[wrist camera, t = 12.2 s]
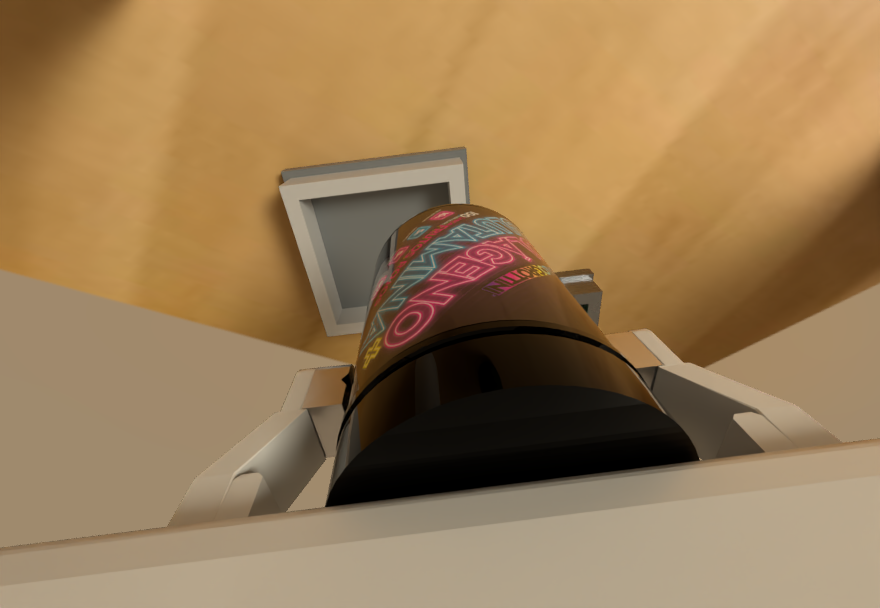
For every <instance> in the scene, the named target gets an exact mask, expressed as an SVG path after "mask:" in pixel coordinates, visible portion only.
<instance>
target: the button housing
mask: <svg viewBox="0 0 880 608" xmlns="http://www.w3.org/2000/svg"><path fill="white" fill-rule="evenodd" d="M555 274H556V275H557V277H558V278H559V279H560V280H561V282H562V283H563V284H564V285H565V287H566V288H567V289H568V290H569V292H570V293H571V294H572V295H573V296H574V298H575V299H576V300H577V301H578V303H579V304H580V305H581V306H582V308H583V309H584V310H585V311H586V313H587V314H588V315H589V316H590V318H591V319H592V320H593V321H594V323H595V324H596V325H597V326H598V321H599V314H600V306H601V299H602V290H601V289H600V288H599V287H598V286H597V285H596V284H595V283H594V281H593V276H594V273H593V272H592V271H591V270H590V269H582V270H574V271H565V272H557V273H555Z"/></svg>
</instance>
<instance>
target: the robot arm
mask: <svg viewBox="0 0 880 608" xmlns="http://www.w3.org/2000/svg"><path fill="white" fill-rule="evenodd" d="M604 335H605V336H606V337H607V339H608V340H609V341H610V342H611V344H612V345H613V346H614V347H615V348H616V349H617V350H618V351H619V352H621V353H622V354H623V355H624V356H625V357H626V358H627V359H628V360H629V361H630V362H631V363H632V365H633V366H634V367H635V368H636V369H637V371H638V372H639V373H640V374H641V376H642V377H643V379H644V381H645V382H646V384H647V386H648V387H649V388H650V389H651V390H652V392H653V393H654V394H655V395H656V397H657V398H658V399H659V400H660V402H661V403H662V404H663V405H664V406H665V408H666V409H667V410H668V411H669V413H670V414H671V415H672V416H673V417H674V419H675V420H676V421H677V422H678V424H679V425H680V426H681V427H682V429H683V430H684V431H685V432H686V433H687V435H688V436H689V437H690V439H691V441H692V443H693V444H694V446H695V448H696V451H697V454H698V457H699V458H701V459H702V460H701V461H693V462H685V463H677V464H669V465H661V466H653V467H645V468H636V469H628V470H620V471H612V472H604V473H596V474H588V475H580V476H572V477H564V478H556V479H548V480H540V481H532V482H524V483H516V484H508V485H499V486H491V487H483V488H475V489H467V490H459V491H451V492H443V493H435V494H427V495H419V496H411V497H403V498H395V499H387V500H379V501H371V502H363V503H355V504H347V505H339V506H331V507H323V508H315V509H308V510H300V511H291V512H286V511H287V510H288V508H289V507H290V506H291V504H292V503H293V502H294V500H295V499H296V498H297V497H298V495H299V494H300V493H301V491H302V490H303V489H304V487H305V486H306V485H307V484H308V482H309V481H310V480H311V478H312V477H313V476H314V474H315V473H316V472H317V470H318V469H319V468H320V467H321V465H322V464H323V462H324V461H325V460H326V458H327V457H334V456H336V446H337V439H338V433H339V429H340V425H341V422H342V419H343V416H344V414H345V412H346V410H347V405H348V400H349V395H350V390H351V385H352V380H353V375H354V370H355V368H354V366H353V365H352V364H351V365H341V366H332V367H320V368H312V369H304V370H299V371H298V372H297V373H296V375H295V377H294V380H293V382H292V385H291V387H290V389H289V392H288V394H287V397H286V399H285V402H284V404H283V406H282V409H281V411H280V412H276V413H274V414H273V415H271V416H270V417H269V418H268V419H266V420H265V421H264V422H263V423H262V424H260V426H258V427H257V428H255V429H254V430H253V431H252V432H251V433H249V434H248V435H247V436H246V437H244V438H243V439H242V440H241V441H240V442H238V443H237V444H236V445H235V446H234V447H232V448H231V449H230V450H229V451H227V452H226V453H225V454H224V455H223V456H221V457H220V458H219V459H218V460H216V461H215V462H214V463H213V464H212V465H210V466H209V467H208V468H207V469H205V470H204V471H203V472H202V473H201V474H200V475H198V476H197V477H196V478H195V479H194V480H193V482H192V483H191V485H190V487H189V489H188V491H187V492H186V494H185V496H184V498H183V499H182V501H181V503H180V505H179V507H178V508H177V510H176V512H175V514H174V515H173V517H172V519H171V521H170V522H169V524H168V526H167V527H162V528H154V529H146V530H139V531H131V532H124V533H123V532H122V533H114V534H106V535H98V536H91V537H82V538H74V539H66V540H59V541H50V542H42V543H35V544H27V545H19V546H10V547H2V548H0V608H880V438H877V439H870V440H861V441H853V442H845V443H843V442H841V441H840V440H839V439H838V438H836V437H835V436H834V435H833V434H831V433H830V432H829V431H828V430H826V429H825V428H824V427H823V426H821V425H820V424H819V423H818V422H817V421H815V420H814V419H813V418H812V417H810V416H809V415H808V414H807V413H806V412H804V411H803V410H802V409H801V408H799V407H798V406H797V405H794V404H792V403H790V402H787V401H785V400H782V399H779V398H777V397H775V396H772V395H770V394H767V393H765V392H762V391H760V390H757V389H755V388H752V387H750V386H747V385H745V384H742V383H740V382H737V381H735V380H732V379H729V378H727V377H725V376H722V375H719V374H717V373H715V372H712V371H710V370H707V369H705V368H702V367H700V366H697V365H695V364H692V363H683V362H682V361H681V360H680V359H679V358H678V357H677V356H676V355H675V354H674V353H673V352H672V351H671V350H670V349H669V348H668V347H667V346H666V345H665V344H664V343H663V342H662V341H661V340H660V339H659V338H658V337H657V336H656V335H655V334H654V333H653V332H652V331H651V330H648V329H646V328H645V329H638V330H631V331H628V332H620V333H612V334H604Z"/></svg>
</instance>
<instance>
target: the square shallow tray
mask: <svg viewBox="0 0 880 608" xmlns="http://www.w3.org/2000/svg"><path fill="white" fill-rule="evenodd" d="M281 174H282V177H283V180H284V183H283V184H282V185H280V186H279V189H280V192H281V196H282V199H283V202H284V205H285V208H286V211H287V214H288V217H289V220H290V223H291V226H292V229H293V232H294V235H295V238H296V241H297V245H298V248H299V251H300V254H301V257H302V260H303V263H304V266H305V269H306V272H307V275H308V278H309V281H310V284H311V287H312V290H313V294H314V297H315V300H316V303H317V306H318V309H319V312H320V315H321V318H322V321H323V324H324V327H325V330H326V333H327V336H328V337H329V336H338V335H346V334H355V333H362V330H363V325H364V320H365V315H366V310H367V305H368V300H369V295H370V290H371V285H372V280H373V275H374V271H375V266H376V262H377V259H378V256H379V254H380V251H381V249H382V247H383V246H384V244H385V242H386V241H387V240H388V238H389V237H390V235H391V234H392V233H393V232H394V231H395V230H396V229H397V228H398V227H399V226H400V225H401V224H402V223H404V222H405V221H407V220H408V219H409V218H411V217H413V216H414V215H416V214H418V213H420V212H422V211H424V210H427V209H430V208H433V207H436V206H441V205H446V204H470V199H469V184H468V170H467V155H466V148H465V147H458V148H450V149H442V150H434V151H426V152H418V153H410V154H402V155H394V156H386V157H378V158H370V159H362V160H354V161H346V162H338V163H330V164H322V165H314V166H306V167H298V168H290V169H285V170H283V171H281Z"/></svg>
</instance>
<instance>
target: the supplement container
mask: <svg viewBox="0 0 880 608" xmlns="http://www.w3.org/2000/svg"><path fill="white" fill-rule="evenodd" d="M693 461H700V460H699V457H698V454H697V451H696V448H695V446H694V444H693V443H692V441H691V439H690V437H689V436H688V435H687V433H686V432H685V431H684V430H683V429H682V427H681V426H680V425H679V424H678V422H677V421H676V420H675V419H674V417H673V416H672V415H671V414H670V413H669V411H668V410H667V409H666V408H665V406H664V405H663V404H662V403H661V402H660V400H659V399H658V398H657V397H656V395H655V394H654V393H653V392H652V390H651V389H650V388H649V387H648V386H647V384H646V382H645V381H644V379H643V377H642V376H641V374H640V373H639V372H638V371H637V369H636V368H635V367H634V366H633V365H632V363H631V362H630V361H629V360H628V359H627V358H626V357H625V356H624V355H623V354H622V353H621V352H619V351H618V350H617V349H616V348H615V347H614V346H613V345H612V344H611V342H610V341H609V340H608V339H607V337H606V336H605V335H604V334H603V332H602V331H601V330H600V329H599V328H598V326H597V325H596V324H595V323H594V321H593V320H592V319H591V318H590V316H589V315H588V314H587V313H586V311H585V310H584V309H583V308H582V306H581V305H580V304H579V303H578V301H577V300H576V299H575V298H574V296H573V295H572V294H571V293H570V292H569V290H568V289H567V288H566V287H565V285H564V284H563V283H562V282H561V280H560V279H559V278H558V277H557V275H556V274H555V273H554V272H553V270H552V269H551V268H550V267H549V265H548V264H547V263H546V262H545V260H544V259H543V258H542V257H541V256H540V254H539V253H538V252H537V251H536V249H535V248H534V247H533V246H532V244H531V243H530V242H529V241H528V239H527V238H526V237H525V236H524V234H523V233H522V232H521V231H520V230H519V228H518V227H517V226H516V225H515V224H514V223H512V222H511V221H510V220H509V219H507V218H506V217H505V216H503V215H501V214H499V213H498V212H495V211H493V210H491V209H488V208H485V207H482V206H478V205H473V204H446V205H441V206H436V207H433V208H430V209H427V210H424V211H422V212H420V213H418V214H416V215H414V216H413V217H411V218H409V219H408V220H407V221H405V222H404V223H402V224H401V225H400V226H399V227H398V228H397V229H396V230H395V231H394V232H393V233H392V234H391V235H390V237H389V238H388V240H387V241H386V242H385V244H384V246H383V247H382V249H381V251H380V254H379V256H378V259H377V262H376V266H375V271H374V275H373V280H372V285H371V290H370V295H369V300H368V305H367V310H366V315H365V320H364V325H363V330H362V335H361V340H360V345H359V350H358V355H357V360H356V365H355V370H354V375H353V380H352V385H351V390H350V395H349V400H348V405H347V410H346V412H345V414H344V416H343V419H342V422H341V425H340V429H339V433H338V439H337V446H336V456H335V461H334V466H333V471H332V475H331V480H330V485H329V490H328V495H327V500H326V505H325V507H331V506H339V505H347V504H355V503H363V502H371V501H379V500H387V499H395V498H403V497H411V496H419V495H427V494H435V493H443V492H451V491H459V490H467V489H475V488H483V487H491V486H499V485H508V484H516V483H524V482H532V481H540V480H548V479H556V478H564V477H572V476H580V475H588V474H596V473H604V472H612V471H620V470H628V469H636V468H645V467H653V466H661V465H669V464H677V463H685V462H693Z"/></svg>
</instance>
